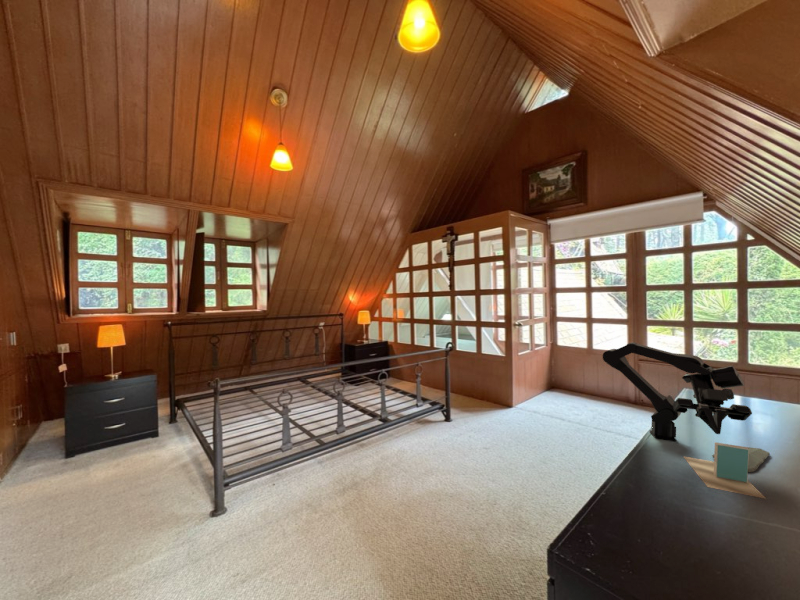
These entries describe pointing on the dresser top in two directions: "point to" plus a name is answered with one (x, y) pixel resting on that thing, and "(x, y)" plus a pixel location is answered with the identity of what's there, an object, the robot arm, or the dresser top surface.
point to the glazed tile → (731, 462)
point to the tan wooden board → (720, 479)
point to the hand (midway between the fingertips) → (718, 433)
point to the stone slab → (755, 458)
